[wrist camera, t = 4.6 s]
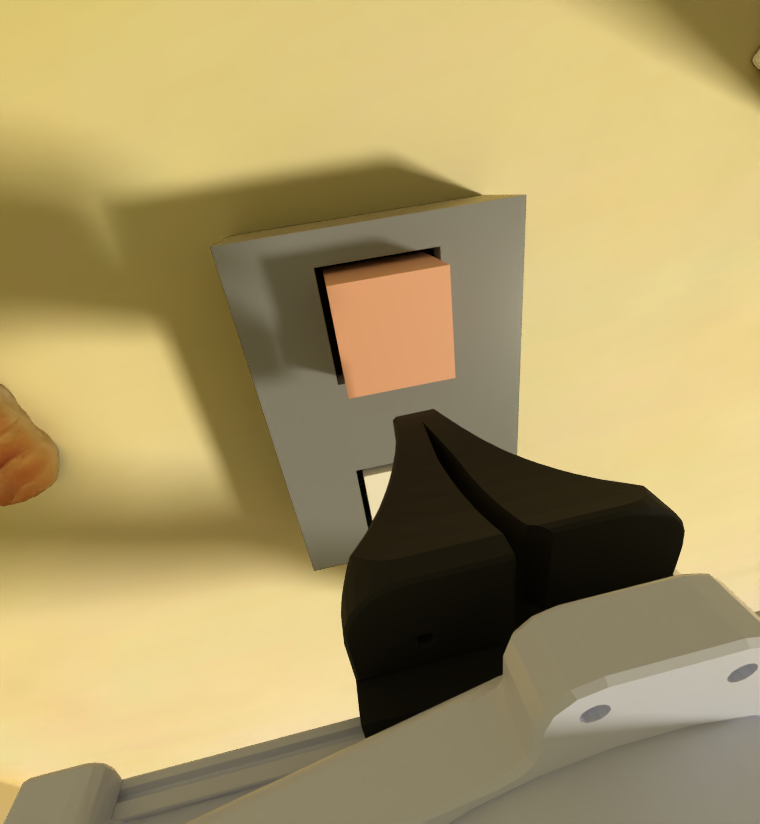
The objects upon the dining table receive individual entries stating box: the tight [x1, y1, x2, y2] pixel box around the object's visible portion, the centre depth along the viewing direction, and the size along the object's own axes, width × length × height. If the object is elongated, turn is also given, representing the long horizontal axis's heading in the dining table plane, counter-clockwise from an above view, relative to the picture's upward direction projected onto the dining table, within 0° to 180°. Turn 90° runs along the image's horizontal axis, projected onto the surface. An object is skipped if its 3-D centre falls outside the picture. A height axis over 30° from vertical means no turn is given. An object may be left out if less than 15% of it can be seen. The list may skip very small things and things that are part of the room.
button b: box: [323, 251, 456, 399], centre depth 15 cm, size 4×4×4 cm
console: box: [210, 195, 526, 571], centre depth 19 cm, size 16×11×4 cm
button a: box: [362, 463, 393, 521], centre depth 21 cm, size 4×4×4 cm
